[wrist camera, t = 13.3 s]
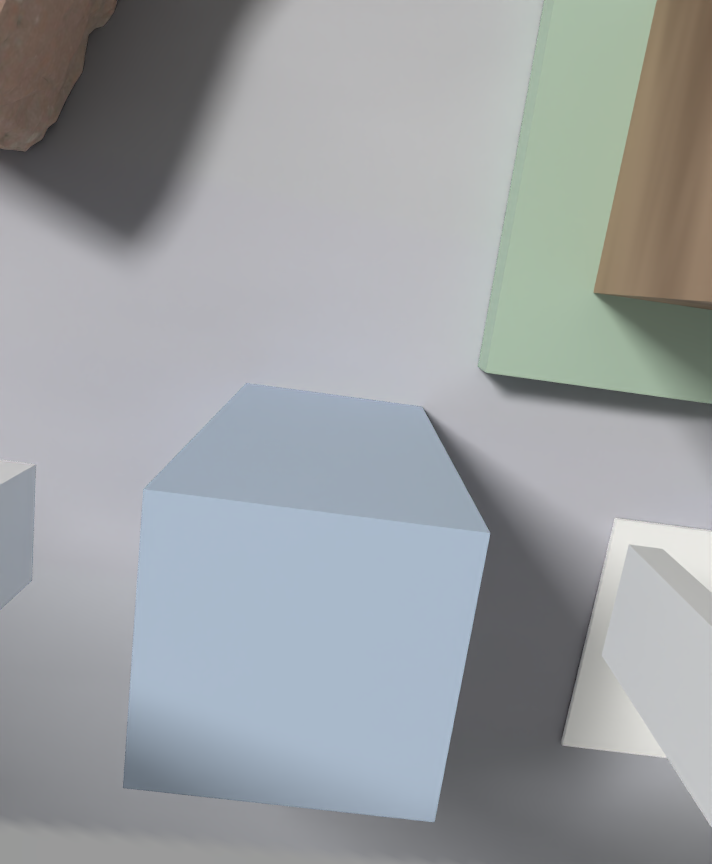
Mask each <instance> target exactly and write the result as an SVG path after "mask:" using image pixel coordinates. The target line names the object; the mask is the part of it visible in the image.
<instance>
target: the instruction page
mask: <svg viewBox="0 0 712 864" xmlns="http://www.w3.org/2000/svg"><path fill="white" fill-rule="evenodd" d="M629 544H631V545H638V546H645V547H653V548H660V549H663V550H665V551H666V552H667V553H668V554H669V555H670V556H671V557H672V558H673V559H675V560H676V561H677V562H678V563H679V564H680V565H681V566H682V567H684V568H685V569H686V570H687V571H688V572H689V573H690V574H691V575H692V576H694V577H695V578H696V579H697V580H698V581H699V582H700V583H701V584H702V585H704V586H705V587H706V588H707V589H708V590H709V591H710V592H711V593H712V530H705V529H697V528H689V527H682V526H674V525H667V524H659V523H651V522H644V521H636V520H628V519H621V518H615V519H614V523H613V528H612V532H611V536H610V540H609V544H608V548H607V553H606V557H605V561H604V565H603V569H602V573H601V578H600V582H599V586H598V590H597V594H596V599H595V603H594V607H593V611H592V615H591V619H590V624H589V628H588V632H587V636H586V640H585V644H584V649H583V653H582V657H581V661H580V665H579V669H578V674H577V678H576V682H575V686H574V690H573V694H572V699H571V703H570V707H569V711H568V715H567V719H566V724H565V728H564V732H563V736H562V740H561V744H562V746H569V747H578V748H586V749H595V750H603V751H612V752H620V753H629V754H637V755H646V756H654V757H663V758H667V757H666V755H665V754H664V752H663V751H662V749H661V747H660V746H659V744H658V743H657V741H656V740H655V738H654V737H653V735H652V733H651V732H650V730H649V729H648V727H647V726H646V724H645V722H644V721H643V719H642V718H641V716H640V715H639V713H638V711H637V710H636V708H635V707H634V705H633V704H632V702H631V700H630V699H629V697H628V696H627V694H626V693H625V691H624V689H623V688H622V686H621V685H620V683H619V682H618V680H617V678H616V677H615V675H614V674H613V672H612V671H611V669H610V668H609V666H608V664H607V663H606V661H605V660H604V658H603V657H602V652H603V648H604V644H605V639H606V635H607V631H608V627H609V623H610V619H611V615H612V611H613V607H614V603H615V599H616V595H617V591H618V586H619V582H620V578H621V574H622V570H623V566H624V562H625V558H626V554H627V550H628V546H629Z"/></svg>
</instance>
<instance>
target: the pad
mask: <svg viewBox="0 0 712 864" xmlns="http://www.w3.org/2000/svg"><path fill="white" fill-rule="evenodd" d="M656 1H657V0H544V3H543V9H542V14H541V20H540V26H539V31H538V37H537V42H536V48H535V53H534V59H533V64H532V70H531V75H530V81H529V86H528V92H527V97H526V103H525V108H524V114H523V119H522V125H521V130H520V136H519V141H518V147H517V153H516V158H515V164H514V169H513V175H512V180H511V186H510V191H509V197H508V202H507V208H506V213H505V219H504V224H503V230H502V235H501V241H500V246H499V252H498V257H497V263H496V269H495V274H494V280H493V285H492V291H491V296H490V302H489V307H488V313H487V318H486V324H485V329H484V335H483V340H482V346H481V351H480V357H479V362H478V367H479V368H480V369H481V370H483V371H484V372H486V373H492V374H499V375H507V376H514V377H521V378H528V379H535V380H543V381H550V382H557V383H564V384H572V385H579V386H586V387H593V388H600V389H608V390H615V391H622V392H629V393H637V394H644V395H651V396H658V397H665V398H673V399H680V400H687V401H694V402H702V403H709V404H712V310H708V309H701V308H695V307H688V306H681V305H674V304H667V303H660V302H654V301H647V300H640V299H633V298H626V297H619V296H613V295H606V294H599V293H593V292H594V287H595V282H596V278H597V273H598V268H599V264H600V259H601V255H602V250H603V245H604V241H605V236H606V232H607V227H608V222H609V218H610V213H611V209H612V204H613V199H614V195H615V190H616V186H617V181H618V176H619V172H620V167H621V162H622V158H623V153H624V149H625V144H626V139H627V135H628V130H629V126H630V121H631V116H632V112H633V107H634V103H635V98H636V93H637V89H638V84H639V80H640V75H641V70H642V66H643V61H644V57H645V52H646V47H647V43H648V38H649V33H650V29H651V24H652V20H653V15H654V10H655V6H656Z"/></svg>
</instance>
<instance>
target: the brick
mask: <svg viewBox="0 0 712 864" xmlns="http://www.w3.org/2000/svg"><path fill="white" fill-rule="evenodd" d="M116 3H117V0H0V148H1V149H4V150H12V149H13V150H18V151H27V150H28V149H29V148H30V147H31V146H32V145H34V144H35V143H37V142H39V141H40V140H42V139H43V137H44V135H45V133H46V130H47V128H48V127H50V126H51V125H52V124H53V123H55V122H56V121H57V118H58V116H59V114H60V112H61V110H62V107H63V105H64V103H65V101H66V99H67V97H68V95H69V93H70V91H71V90H72V88H73V86H74V84H75V82H76V81H77V79H78V78H79V76H80V75H81V73H82V72H83V65H84V59H85V51H86V46H87V41H88V35H89V34H90V33H91V32H92V31H93V30H94V29H95V28H99V27H103V26H104V25H105V24H106V23H107V21H108V20H109V19H110V17H111V16H112V14H113V13H114V11H115V7H116Z"/></svg>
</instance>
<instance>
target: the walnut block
mask: <svg viewBox="0 0 712 864" xmlns="http://www.w3.org/2000/svg"><path fill="white" fill-rule="evenodd" d="M593 293H599V294H606V295H613V296H619V297H626V298H633V299H640V300H647V301H654V302H660V303H667V304H674V305H681V306H688V307H695V308H701V309H708V310H712V0H657V1H656V6H655V10H654V15H653V20H652V24H651V29H650V33H649V38H648V43H647V47H646V52H645V57H644V61H643V66H642V70H641V75H640V80H639V84H638V89H637V93H636V98H635V103H634V107H633V112H632V116H631V121H630V126H629V130H628V135H627V139H626V144H625V149H624V153H623V158H622V162H621V167H620V172H619V176H618V181H617V186H616V190H615V195H614V199H613V204H612V209H611V213H610V218H609V222H608V227H607V232H606V236H605V241H604V245H603V250H602V255H601V259H600V264H599V268H598V273H597V278H596V282H595V287H594V292H593Z"/></svg>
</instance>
